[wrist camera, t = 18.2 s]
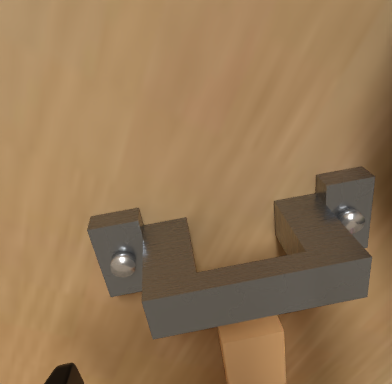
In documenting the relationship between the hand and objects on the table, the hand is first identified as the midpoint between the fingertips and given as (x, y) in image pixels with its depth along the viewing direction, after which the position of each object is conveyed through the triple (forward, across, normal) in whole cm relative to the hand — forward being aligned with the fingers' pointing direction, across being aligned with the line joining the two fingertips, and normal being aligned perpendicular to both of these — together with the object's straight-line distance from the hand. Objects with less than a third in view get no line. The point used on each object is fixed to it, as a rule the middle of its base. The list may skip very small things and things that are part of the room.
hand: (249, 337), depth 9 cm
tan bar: (+12, -1, +19) cm, 23 cm away
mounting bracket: (+12, -2, +5) cm, 13 cm away
